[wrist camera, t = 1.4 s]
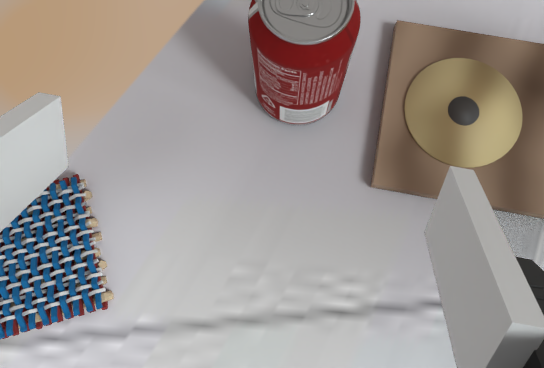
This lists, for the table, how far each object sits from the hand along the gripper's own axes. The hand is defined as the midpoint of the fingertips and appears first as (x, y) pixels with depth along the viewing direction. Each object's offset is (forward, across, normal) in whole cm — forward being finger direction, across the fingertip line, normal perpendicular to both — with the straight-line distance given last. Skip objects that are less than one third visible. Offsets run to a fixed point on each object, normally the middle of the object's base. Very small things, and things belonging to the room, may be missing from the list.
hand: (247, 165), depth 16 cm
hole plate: (+23, +19, -5) cm, 30 cm away
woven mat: (+12, -16, -18) cm, 27 cm away
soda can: (+23, +1, -6) cm, 24 cm away
